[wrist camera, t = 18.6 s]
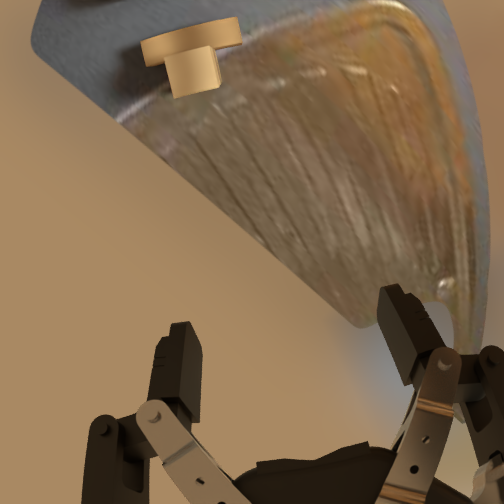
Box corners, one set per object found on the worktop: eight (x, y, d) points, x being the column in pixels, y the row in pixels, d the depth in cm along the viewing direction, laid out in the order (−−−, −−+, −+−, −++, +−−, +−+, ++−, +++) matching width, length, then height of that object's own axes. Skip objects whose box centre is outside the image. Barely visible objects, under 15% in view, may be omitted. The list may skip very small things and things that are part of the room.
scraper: (236, 21, 27) (237, 8, 20) (248, 76, 31) (253, 80, 24) (149, 43, 28) (124, 38, 20) (163, 96, 32) (142, 108, 24)
